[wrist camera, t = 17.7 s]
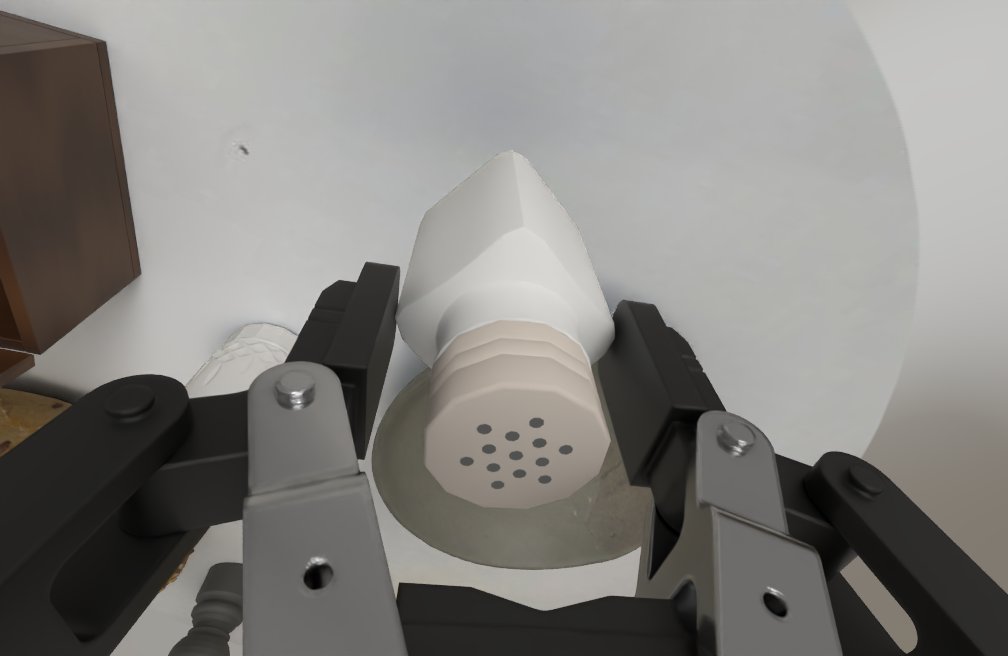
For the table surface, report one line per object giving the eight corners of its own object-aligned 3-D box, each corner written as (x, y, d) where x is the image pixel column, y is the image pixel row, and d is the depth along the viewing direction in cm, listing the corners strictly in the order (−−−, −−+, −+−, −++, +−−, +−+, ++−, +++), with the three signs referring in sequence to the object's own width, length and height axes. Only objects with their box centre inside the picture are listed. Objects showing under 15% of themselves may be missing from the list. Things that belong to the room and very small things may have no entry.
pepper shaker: (584, 233, 16) (677, 464, 8) (491, 297, 17) (497, 547, 10) (512, 135, 14) (544, 316, 6) (414, 216, 16) (343, 446, 8)
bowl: (488, 526, 55) (488, 600, 49) (327, 362, 41) (295, 435, 34) (723, 445, 48) (761, 518, 42) (628, 214, 34) (662, 268, 27)
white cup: (273, 402, 44) (223, 496, 35) (201, 343, 40) (125, 434, 31) (339, 366, 41) (302, 458, 33) (270, 299, 37) (208, 385, 29)
